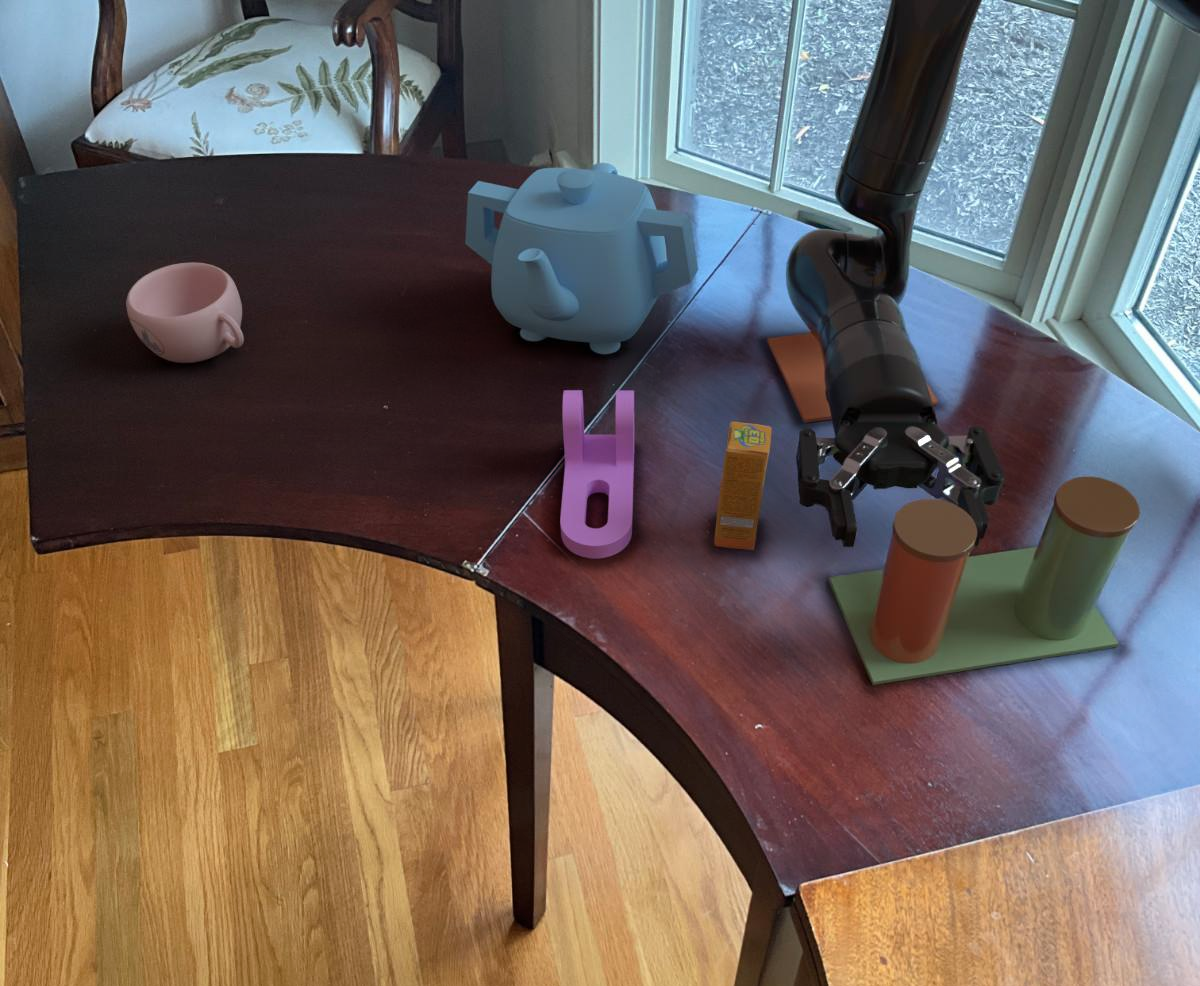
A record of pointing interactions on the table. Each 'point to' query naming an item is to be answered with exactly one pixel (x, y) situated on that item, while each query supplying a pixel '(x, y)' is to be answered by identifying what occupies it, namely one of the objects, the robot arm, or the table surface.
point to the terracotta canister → (920, 579)
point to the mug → (186, 312)
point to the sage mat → (966, 622)
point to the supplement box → (742, 485)
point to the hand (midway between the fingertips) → (913, 538)
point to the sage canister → (1075, 556)
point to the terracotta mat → (806, 374)
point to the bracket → (597, 477)
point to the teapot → (579, 253)
